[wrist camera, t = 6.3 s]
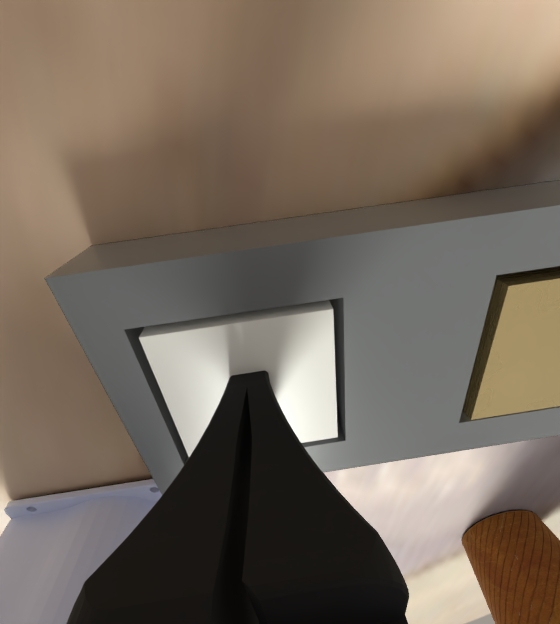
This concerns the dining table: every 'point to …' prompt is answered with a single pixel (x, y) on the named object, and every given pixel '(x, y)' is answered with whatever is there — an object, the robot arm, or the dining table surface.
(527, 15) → the dining table surface
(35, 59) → the dining table surface
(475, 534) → the disposable coffee cup
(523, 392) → the brass button
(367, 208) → the panel
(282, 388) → the white button
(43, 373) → the dining table surface
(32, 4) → the dining table surface
